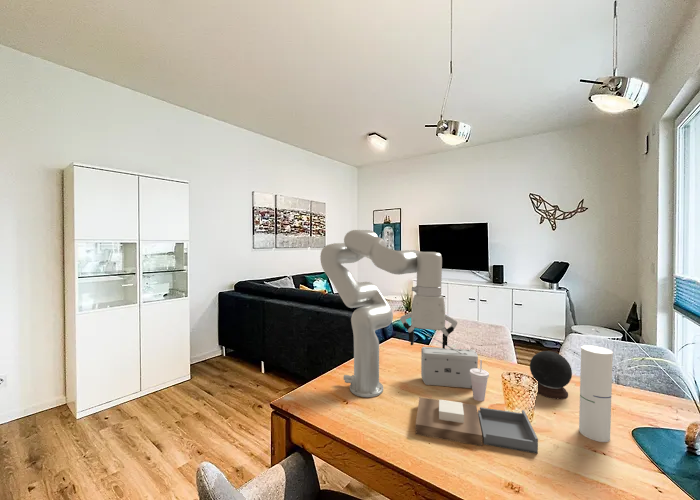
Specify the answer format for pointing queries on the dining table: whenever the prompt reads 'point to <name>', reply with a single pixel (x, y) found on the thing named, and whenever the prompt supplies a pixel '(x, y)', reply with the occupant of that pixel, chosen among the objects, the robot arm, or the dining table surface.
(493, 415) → the tray
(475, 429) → the board
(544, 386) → the round black desktop speaker
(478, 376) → the smoothie
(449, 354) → the stereo radio cassette player
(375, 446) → the dining table surface
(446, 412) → the tile
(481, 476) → the dining table surface
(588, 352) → the cylindrical container
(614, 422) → the dining table surface
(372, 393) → the robot arm
